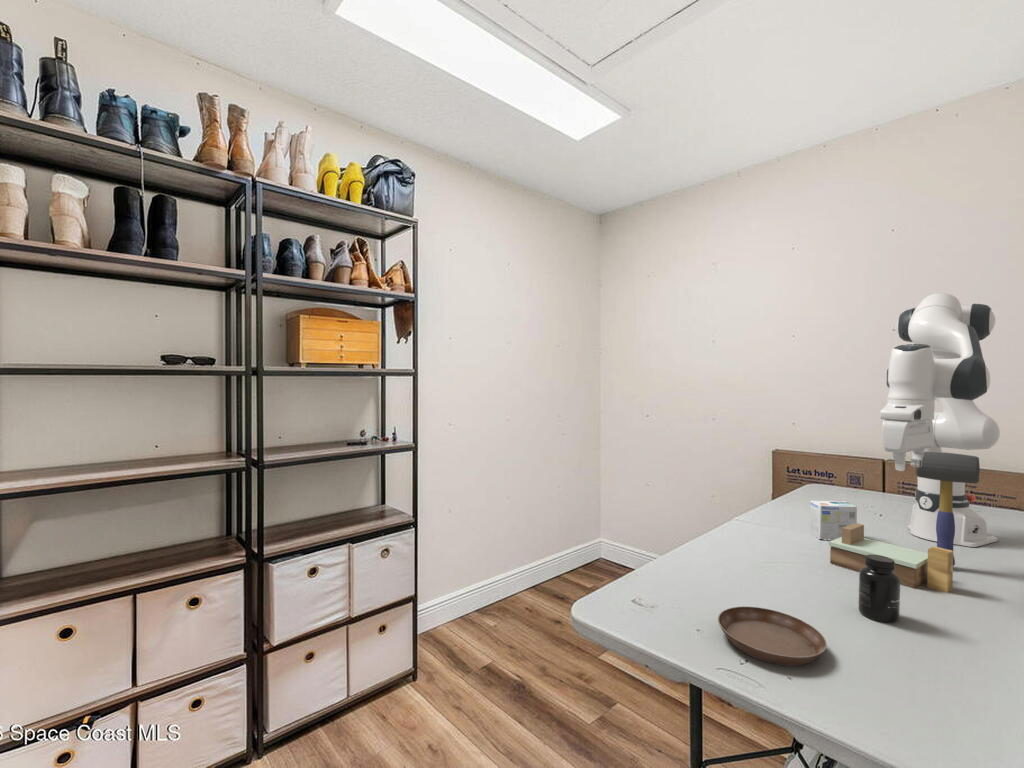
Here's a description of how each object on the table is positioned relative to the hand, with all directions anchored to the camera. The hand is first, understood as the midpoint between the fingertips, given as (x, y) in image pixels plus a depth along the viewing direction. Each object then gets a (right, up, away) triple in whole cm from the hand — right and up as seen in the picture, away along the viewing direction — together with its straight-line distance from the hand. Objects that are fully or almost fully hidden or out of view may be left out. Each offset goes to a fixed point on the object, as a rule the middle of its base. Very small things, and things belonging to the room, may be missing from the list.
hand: (908, 468), depth 117 cm
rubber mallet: (+17, -28, +10) cm, 34 cm away
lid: (-2, -22, +7) cm, 24 cm away
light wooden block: (+5, -28, -3) cm, 28 cm away
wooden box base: (-2, -27, +7) cm, 28 cm away
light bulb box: (+3, -27, +33) cm, 43 cm away
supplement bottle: (-20, -28, -17) cm, 38 cm away
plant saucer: (-48, -28, -27) cm, 62 cm away
